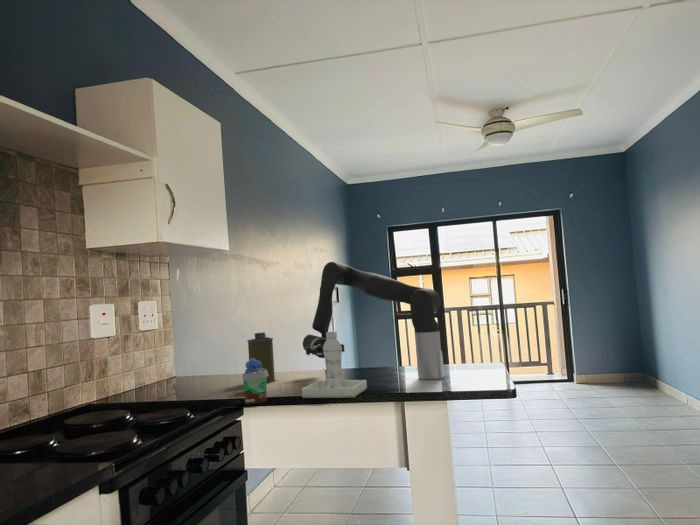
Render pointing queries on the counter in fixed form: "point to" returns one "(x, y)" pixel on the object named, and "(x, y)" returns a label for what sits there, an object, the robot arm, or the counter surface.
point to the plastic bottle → (333, 361)
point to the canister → (263, 353)
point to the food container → (255, 386)
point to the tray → (334, 390)
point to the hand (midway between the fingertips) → (327, 350)
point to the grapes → (253, 366)
